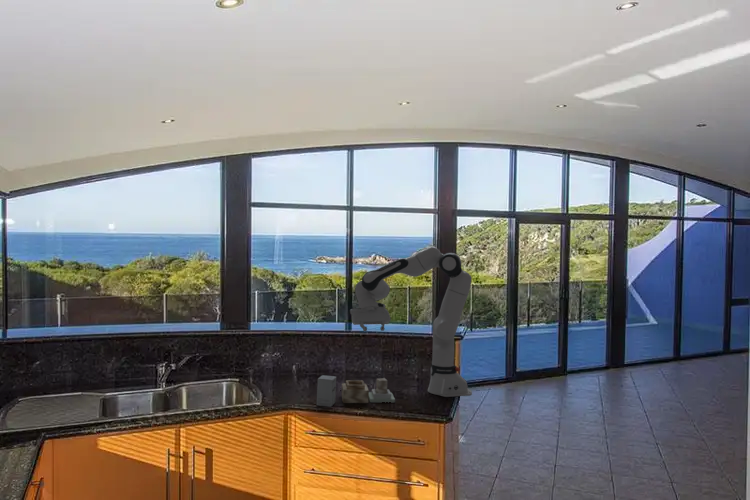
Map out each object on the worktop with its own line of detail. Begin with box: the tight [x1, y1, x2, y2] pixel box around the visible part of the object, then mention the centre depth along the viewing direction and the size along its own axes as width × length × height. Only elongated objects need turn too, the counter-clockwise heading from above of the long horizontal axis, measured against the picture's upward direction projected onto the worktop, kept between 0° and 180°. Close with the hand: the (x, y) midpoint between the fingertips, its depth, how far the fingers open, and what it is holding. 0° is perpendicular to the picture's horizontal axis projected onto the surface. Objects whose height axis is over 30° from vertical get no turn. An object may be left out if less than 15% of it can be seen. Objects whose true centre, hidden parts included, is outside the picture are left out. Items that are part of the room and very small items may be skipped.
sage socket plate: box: [368, 388, 396, 404], centre depth 293 cm, size 12×12×4 cm
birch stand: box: [341, 380, 370, 404], centre depth 291 cm, size 12×12×8 cm
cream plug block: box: [375, 377, 388, 394], centre depth 293 cm, size 4×4×8 cm
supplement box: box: [316, 374, 337, 408], centre depth 281 cm, size 7×7×13 cm
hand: (374, 330), depth 303 cm, fingers open, 8 cm apart
